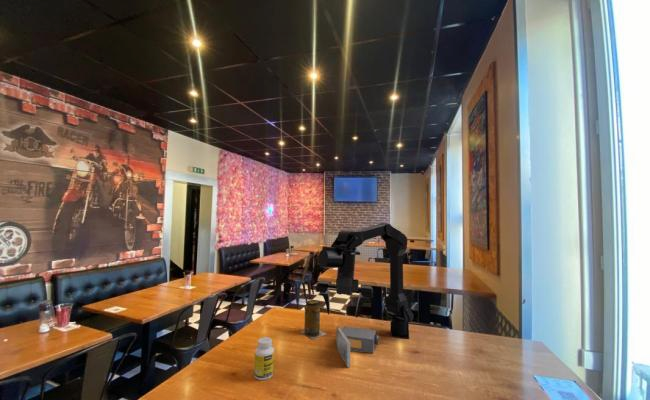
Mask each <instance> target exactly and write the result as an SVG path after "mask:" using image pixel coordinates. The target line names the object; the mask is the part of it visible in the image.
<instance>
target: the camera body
mask: <svg viewBox="0 0 650 400" xmlns="http://www.w3.org/2000/svg"><path fill="white" fill-rule="evenodd" d="M338 329H341V330H342V332H343V333H344V334H345V336H346V337H347V339H348V340H349V342H350V351H355V352H362V353H367V354H368V353H369V354H374V351H375V347H376V346H378V345H379V340H380V337H379V334H376V333H377V331H376V329H367V328H362V327H355V326H346V325H345V326H344V325H343V326H342V328H341V327H339V326H337V327H336V340H337V339H338Z"/></svg>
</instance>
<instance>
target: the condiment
mask: <svg viewBox="0 0 650 400" xmlns="http://www.w3.org/2000/svg"><path fill="white" fill-rule="evenodd" d="M320 318H321V309H320V302H319V300H316V299H309V300H306V301H305V308H304V330H300V331H299V333H301V334H303V336H306V337H308V338H309V339H311V340H312V339H313V340H314V339H317V338H320V337H324V336H325V335H327V333H326V332H324V331H322V330H321V328H320V326H321V325H320V323H321V319H320Z"/></svg>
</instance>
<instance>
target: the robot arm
mask: <svg viewBox="0 0 650 400" xmlns="http://www.w3.org/2000/svg"><path fill="white" fill-rule="evenodd" d="M336 236H337V237H336V238H335V239H334V241H333V243H332V244H331V245H330V246H325V245H324V246H322V249H321V250H320V251H319V253H318V255H317V263H318V266H319V268H321V269H336V268H337V271H336V279H335V284H330V281H327V280H326V281H325V280H319V281H318V282H317V283H316V286H315V292H316V293H319V295H320V296H322V297H323V299H324V300H323V301H324V303H325V306H326V312H327V315H330V312H331V307H330V305H331V303H330V299H331V298H330V296H331V295H330V291H333V292H334V291H335V293H336V295H339V296H340V295H344V296H345V295H346V296H352V295H353V294H358V299H357V303H356V309H355V310H356V311H355V318H356V319H357V318H358V316H359V314H360V311H361V308H362V306H363V304H364V303H365V302H366V301H369V299H373V298H374V290H373V287H372V286H371V285H364V284H360V281H359V279H357V278H355V267H356V265H355V264H356V256H361V252H360V251H359V250H358V248H359V246H361V245H363V244H364V242H365V241H367V240H371V239H374V238H378V237H380V239H381V240H383V242H384V244H385V249H386V251H387V253H388V255H389V270H390V271H389V279H390V280H389V281H390V282H389V285H390V286H389V287H390V288H389V294H388V295H387V296H386V295H385V297H384V307H385V310H386V313H387V315H388V317H389V318H390V317H391V320H390V333H391V336H392V337H394V338H395V337H396V338H402V339H410V330H409V328H410V327H409V326H410V324H409V323H412V321H413V320H414V316H415V315H414V313H413V312H412V311H411V309H410V308H409V302H408V299H407V297H406V295H405V293H404V259H403V258H404V257H403V256H404V254H405V253H406V251H407V248H408V237H407V235H406V234H404V233H403V232H402V231H400V230H399V229H397V228H396V227H393V225H392V224H391V223H387V222H386V223H385V222H379V223H377V224H375V225H372V226H371V225H370V226H367V227H364V228H361V229H353V230H352V229H346V230H345V229H344V230H340V231H339V232H338V234H337V235H336ZM359 284H360V287H359Z"/></svg>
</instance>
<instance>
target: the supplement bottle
mask: <svg viewBox="0 0 650 400" xmlns="http://www.w3.org/2000/svg"><path fill="white" fill-rule="evenodd" d="M274 357H275V348H274V346H273V339H272V338H271V337H267V336H264V337H260V338H259V339H258V340H257V347H256V348H255V350H254V364H253V365H254V366H253V367H254V369H253V376H254V378H255V379H256V380H259V381H265V380H269V379H271V377H272V376H273V375H274V364H275V363H274V362H275V360H274V359H275V358H274Z"/></svg>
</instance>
